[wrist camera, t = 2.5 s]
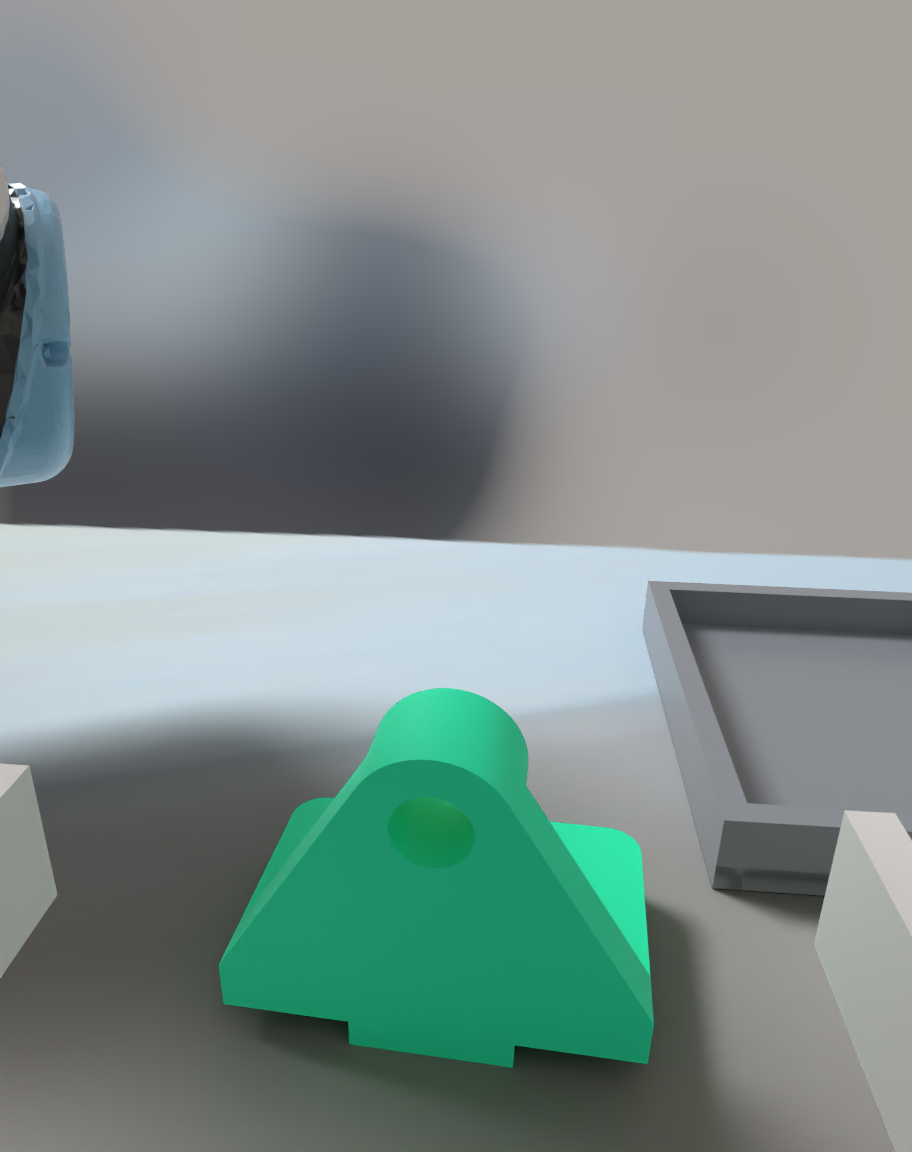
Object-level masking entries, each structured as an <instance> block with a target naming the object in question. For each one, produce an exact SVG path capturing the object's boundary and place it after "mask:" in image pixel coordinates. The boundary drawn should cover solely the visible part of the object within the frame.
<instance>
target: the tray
mask: <svg viewBox="0 0 912 1152" xmlns="http://www.w3.org/2000/svg"><path fill="white" fill-rule="evenodd" d="M643 633H644V637H645V640H646V644H647V648H648V652H649V655H650V659H651V663H652V667H653V670H654V674H655V678H656V681H657V685H658V689H659V693H660V696H661V700H662V704H663V707H664V711H665V715H666V719H667V722H668V726H669V730H670V733H671V737H672V741H673V745H674V748H675V752H676V756H677V759H678V763H679V767H680V771H681V774H682V778H683V782H684V786H685V789H686V793H687V797H688V800H689V804H690V808H691V812H692V815H693V819H694V823H695V826H696V830H697V834H698V838H699V841H700V845H701V849H702V852H703V856H704V860H705V864H706V867H707V871H708V875H709V878H710V882H711V886H712V888H716V889H731V890H746V891H761V892H776V893H791V894H806V895H821V896H825V893H826V889H827V884H828V880H829V876H830V871H831V867H832V863H833V858H834V854H835V849H836V845H837V841H838V836H839V832H840V828H841V823H842V819H843V815H844V810H847V811H865V812H883V813H895V814H896V815H897V817H898V819H899V820H900V822H901V824H902V825H903V827H904V828H905V830H906V832H907V833H908V835H909V837H910V838H911V840H912V593H901V592H879V591H857V590H835V589H813V588H791V587H769V586H747V585H725V584H703V583H681V582H659V581H648V587H647V596H646V604H645V613H644V621H643Z"/></svg>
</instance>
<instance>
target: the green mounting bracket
mask: <svg viewBox="0 0 912 1152" xmlns="http://www.w3.org/2000/svg"><path fill="white" fill-rule="evenodd" d="M527 771H528V751H527V746H526V743H525V740H524V737H523V735H522V733H521V731H520V729H519V728H518V726H517V724H516V723H515V722H514V721H513V719H512V718H511V717H510V716H509V715H508V714H507V713H506V712H505V711H504V710H503V709H501V708H500V707H499V706H497V705H496V704H494V703H493V702H491V701H490V700H488V699H486V698H484V697H482V696H479V695H477V694H474V693H471V692H468V691H464V690H458V689H450V688H437V689H429V690H424V691H420V692H417V693H414V694H411V695H409V696H407V697H405V698H403V699H402V700H400V701H399V702H397V703H396V704H395V705H394V706H393V707H391V709H390V710H389V711H388V712H387V713H386V714H385V716H384V717H383V718H382V720H381V722H380V724H379V726H378V729H377V731H376V734H375V736H374V739H373V741H372V744H371V746H370V749H369V751H368V754H367V756H366V758H365V759H364V760H363V762H362V763H361V764H360V766H359V767H358V768H357V769H356V771H355V772H354V773H353V775H352V776H351V777H350V779H349V780H348V781H347V783H346V784H345V785H344V786H343V788H342V789H341V790H340V792H339V793H338V794H337V796H336V797H335V798H328V797H324V798H316V799H312V800H309V801H307V802H304V803H303V804H301V805H300V806H298V807H297V808H296V809H295V810H294V812H293V813H292V815H291V817H290V819H289V821H288V824H287V826H286V828H285V830H284V832H283V834H282V836H281V838H280V840H279V842H278V844H277V846H276V848H275V850H274V852H273V854H272V856H271V858H270V860H269V863H268V865H267V867H266V869H265V871H264V873H263V875H262V877H261V879H260V881H259V883H258V885H257V887H256V889H255V891H254V893H253V895H252V897H251V899H250V902H249V904H248V906H247V908H246V910H245V912H244V914H243V916H242V918H241V920H240V922H239V924H238V926H237V928H236V930H235V932H234V934H233V936H232V939H231V941H230V943H229V945H228V947H227V949H226V951H225V953H224V955H223V957H222V959H221V961H220V963H219V973H220V981H221V988H222V996H223V1004H227V1005H234V1006H241V1007H248V1008H255V1009H262V1010H269V1011H276V1012H283V1013H290V1014H297V1015H304V1016H311V1017H318V1018H325V1019H333V1020H340V1021H347V1022H348V1028H349V1044H351V1045H358V1046H365V1047H372V1048H379V1049H386V1050H393V1051H400V1052H407V1053H414V1054H421V1055H428V1056H435V1057H441V1058H448V1059H455V1060H462V1061H469V1062H476V1063H483V1064H490V1065H497V1066H504V1067H511V1068H513V1061H514V1051H515V1045H516V1046H523V1047H530V1048H537V1049H544V1050H551V1051H558V1052H565V1053H572V1054H579V1055H586V1056H593V1057H600V1058H608V1059H615V1060H622V1061H629V1062H636V1063H643V1064H648V1060H649V1054H650V1047H651V1041H652V1035H653V1028H654V1016H653V1003H652V989H651V976H650V962H649V949H648V935H647V922H646V909H645V895H644V882H643V868H642V855H641V849H640V847H639V845H638V843H637V842H636V841H635V840H634V839H633V838H632V837H631V836H629V835H628V834H626V833H624V832H622V831H619V830H616V829H612V828H604V827H595V826H586V825H577V824H568V823H558V822H549V820H548V818H547V817H546V815H545V814H544V812H543V811H542V809H541V808H540V806H539V805H538V803H537V802H536V800H535V798H534V797H533V795H532V794H531V792H530V791H529V789H528V788H527V786H526V780H527Z"/></svg>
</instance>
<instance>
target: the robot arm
mask: <svg viewBox="0 0 912 1152" xmlns="http://www.w3.org/2000/svg"><path fill="white" fill-rule="evenodd" d="M70 345H71V342H70V313H69V297H68V284H67V272H66V261H65V250H64V240H63V232H62V224H61V218H60V213H59V209H58V206H57V204H56V202H55V201H54V200H53V199H52V198H51V196H49V195H48V194H46V193H44V192H43V191H39V190H33V189H28V188H27V187H25V186H24V185H22V184H20V183H17V184H11V183H7V181H6V177H5V175H4V172H3V170H2V168H1V165H0V487H4V486H13V485H20V484H28V483H36V482H40V481H45V480H48V479H50V478H52V477H53V476H55V475H57V474H58V473H59V472H60V471H61V470H62V469H63V468H64V467H65V466H66V465H67V463H68V461H69V460H70V457H71V455H72V451H73V441H74V394H73V373H72V361H71V355H70V350H69V348H70ZM56 896H57V890H56V885H55V881H54V876H53V871H52V867H51V862H50V858H49V853H48V848H47V844H46V839H45V834H44V830H43V825H42V821H41V816H40V811H39V807H38V802H37V797H36V793H35V788H34V784H33V779H32V774H31V770H30V765H16V764H0V978H1V977H2V975H3V974H4V972H5V971H6V970H7V968H8V967H9V965H10V964H11V962H12V961H13V959H14V958H15V956H16V955H17V953H18V952H19V951H20V949H21V948H22V946H23V945H24V943H25V942H26V940H27V939H28V937H29V936H30V934H31V933H32V932H33V930H34V929H35V927H36V926H37V924H38V923H39V921H40V920H41V918H42V917H43V915H44V914H45V913H46V911H47V910H48V908H49V907H50V905H51V904H52V902H53V901H54V899H55V898H56ZM814 946H815V949H816V951H817V954H818V956H819V959H820V961H821V964H822V966H823V969H824V971H825V974H826V976H827V979H828V982H829V984H830V987H831V989H832V992H833V994H834V997H835V999H836V1002H837V1004H838V1007H839V1010H840V1012H841V1015H842V1017H843V1020H844V1022H845V1025H846V1027H847V1030H848V1032H849V1035H850V1038H851V1040H852V1043H853V1045H854V1048H855V1050H856V1053H857V1055H858V1058H859V1060H860V1063H861V1065H862V1068H863V1071H864V1073H865V1076H866V1078H867V1081H868V1083H869V1086H870V1088H871V1091H872V1093H873V1096H874V1099H875V1101H876V1104H877V1106H878V1109H879V1111H880V1114H881V1116H882V1119H883V1121H884V1124H885V1127H886V1129H887V1132H888V1134H889V1137H890V1139H891V1142H892V1144H893V1147H894V1149H895V1152H912V840H911V838H910V837H909V835H908V833H907V832H906V830H905V828H904V827H903V825H902V824H901V822H900V820H899V819H898V817H897V815H896V814H895V813H883V812H865V811H847V810H844V815H843V819H842V823H841V828H840V832H839V836H838V841H837V845H836V849H835V854H834V858H833V863H832V867H831V871H830V876H829V880H828V884H827V889H826V893H825V897H824V902H823V906H822V910H821V915H820V919H819V924H818V928H817V932H816V937H815V941H814Z"/></svg>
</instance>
